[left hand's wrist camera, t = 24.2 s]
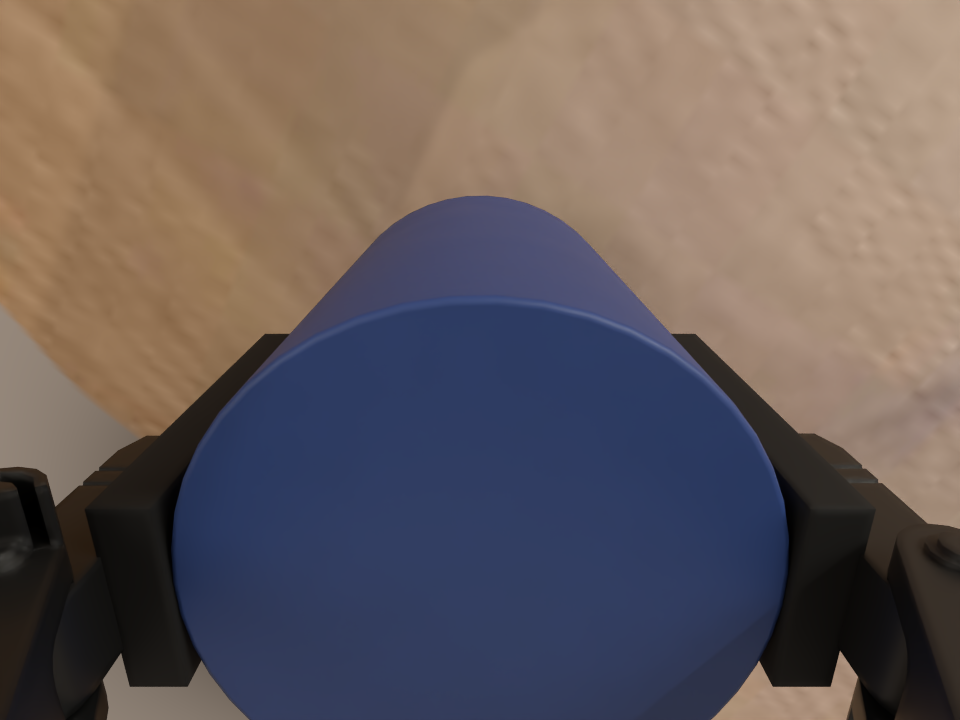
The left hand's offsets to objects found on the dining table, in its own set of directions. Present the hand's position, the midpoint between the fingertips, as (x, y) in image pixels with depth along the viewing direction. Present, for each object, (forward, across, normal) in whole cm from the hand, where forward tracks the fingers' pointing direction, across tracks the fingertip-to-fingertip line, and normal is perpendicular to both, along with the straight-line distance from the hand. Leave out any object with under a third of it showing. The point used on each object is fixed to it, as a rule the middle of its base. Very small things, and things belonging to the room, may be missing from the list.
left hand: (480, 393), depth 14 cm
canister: (+4, 0, 0) cm, 4 cm away
